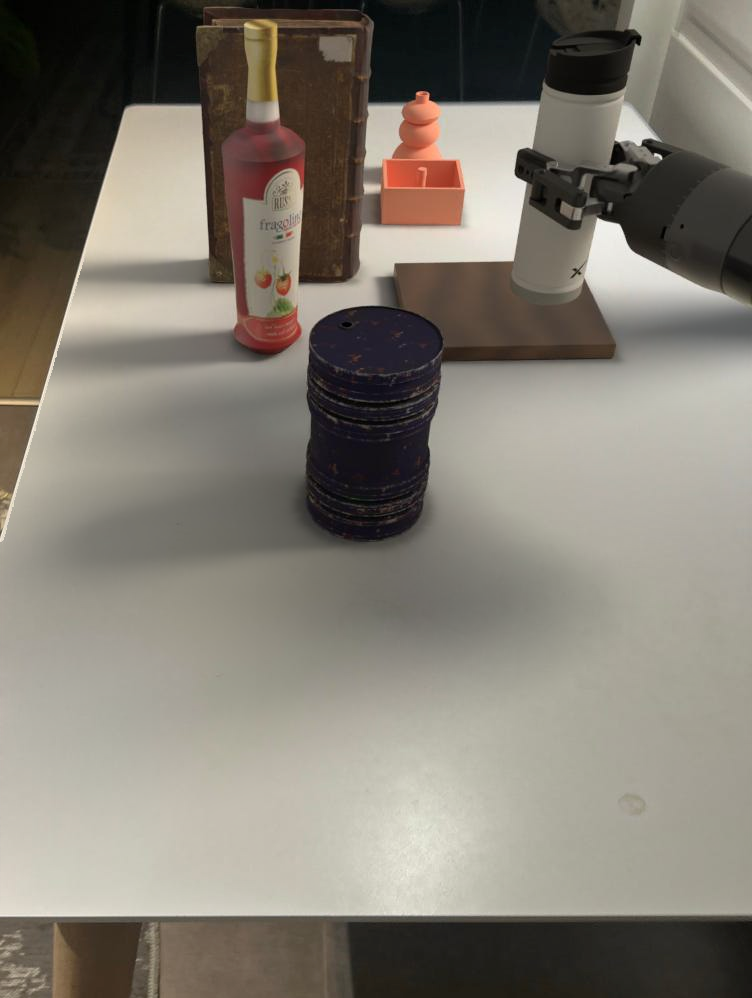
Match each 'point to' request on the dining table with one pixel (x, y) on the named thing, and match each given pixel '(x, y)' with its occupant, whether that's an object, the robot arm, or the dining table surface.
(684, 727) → the dining table surface
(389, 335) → the dark blue cylinder
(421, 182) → the pottery
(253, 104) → the liquor
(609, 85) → the travel mug
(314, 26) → the book
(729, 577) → the dining table surface
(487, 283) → the walnut board
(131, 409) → the dining table surface
